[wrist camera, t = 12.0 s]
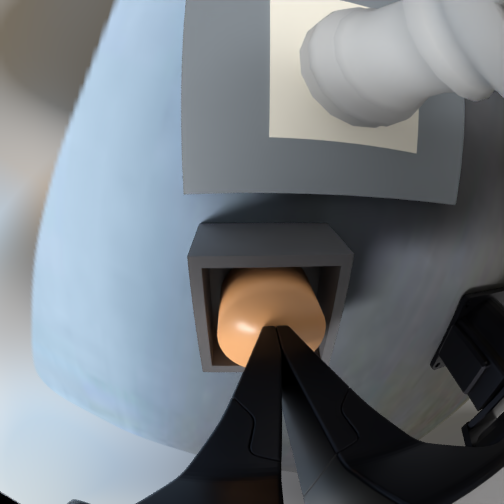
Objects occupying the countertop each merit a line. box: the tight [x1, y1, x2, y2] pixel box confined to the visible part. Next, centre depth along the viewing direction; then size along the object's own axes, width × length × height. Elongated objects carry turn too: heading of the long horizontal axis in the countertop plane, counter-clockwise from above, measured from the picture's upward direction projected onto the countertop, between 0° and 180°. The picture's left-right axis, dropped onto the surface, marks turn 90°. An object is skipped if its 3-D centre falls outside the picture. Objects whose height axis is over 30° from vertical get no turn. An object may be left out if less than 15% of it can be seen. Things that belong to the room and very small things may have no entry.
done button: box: [217, 267, 326, 367], centre depth 10 cm, size 4×4×2 cm
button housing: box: [187, 223, 354, 372], centre depth 11 cm, size 5×5×3 cm
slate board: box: [181, 0, 465, 205], centre depth 8 cm, size 12×10×1 cm
